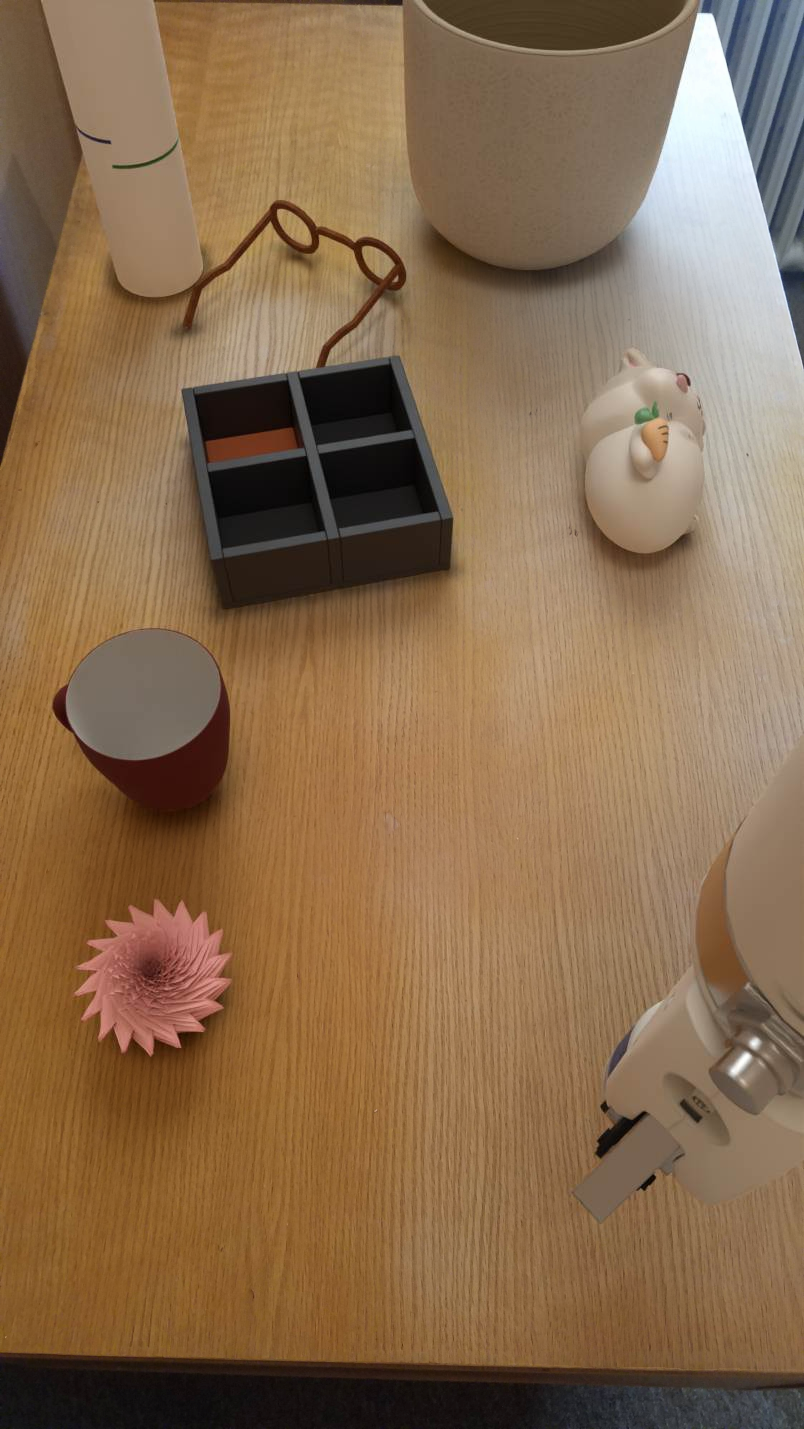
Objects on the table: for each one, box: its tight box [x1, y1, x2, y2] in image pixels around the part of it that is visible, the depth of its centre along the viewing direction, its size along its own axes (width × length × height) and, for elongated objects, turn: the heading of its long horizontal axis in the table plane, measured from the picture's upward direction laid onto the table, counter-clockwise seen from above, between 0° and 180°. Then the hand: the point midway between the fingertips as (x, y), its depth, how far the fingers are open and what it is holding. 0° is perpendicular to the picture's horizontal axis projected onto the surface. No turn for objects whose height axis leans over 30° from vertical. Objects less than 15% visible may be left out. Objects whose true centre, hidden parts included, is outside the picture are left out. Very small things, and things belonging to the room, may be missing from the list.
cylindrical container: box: [40, 0, 204, 298], centre depth 73 cm, size 7×7×25 cm
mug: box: [51, 627, 231, 812], centre depth 56 cm, size 10×8×10 cm
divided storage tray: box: [180, 354, 454, 610], centre depth 69 cm, size 15×15×5 cm
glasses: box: [181, 199, 407, 368], centre depth 79 cm, size 13×13×5 cm
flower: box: [72, 898, 234, 1057], centre depth 52 cm, size 8×8×6 cm
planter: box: [402, 0, 701, 271], centre depth 79 cm, size 21×21×19 cm
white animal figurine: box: [579, 347, 706, 554], centre depth 68 cm, size 10×8×15 cm
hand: (688, 1075), depth 40 cm, fingers closed on pill bottle, 5 cm apart
